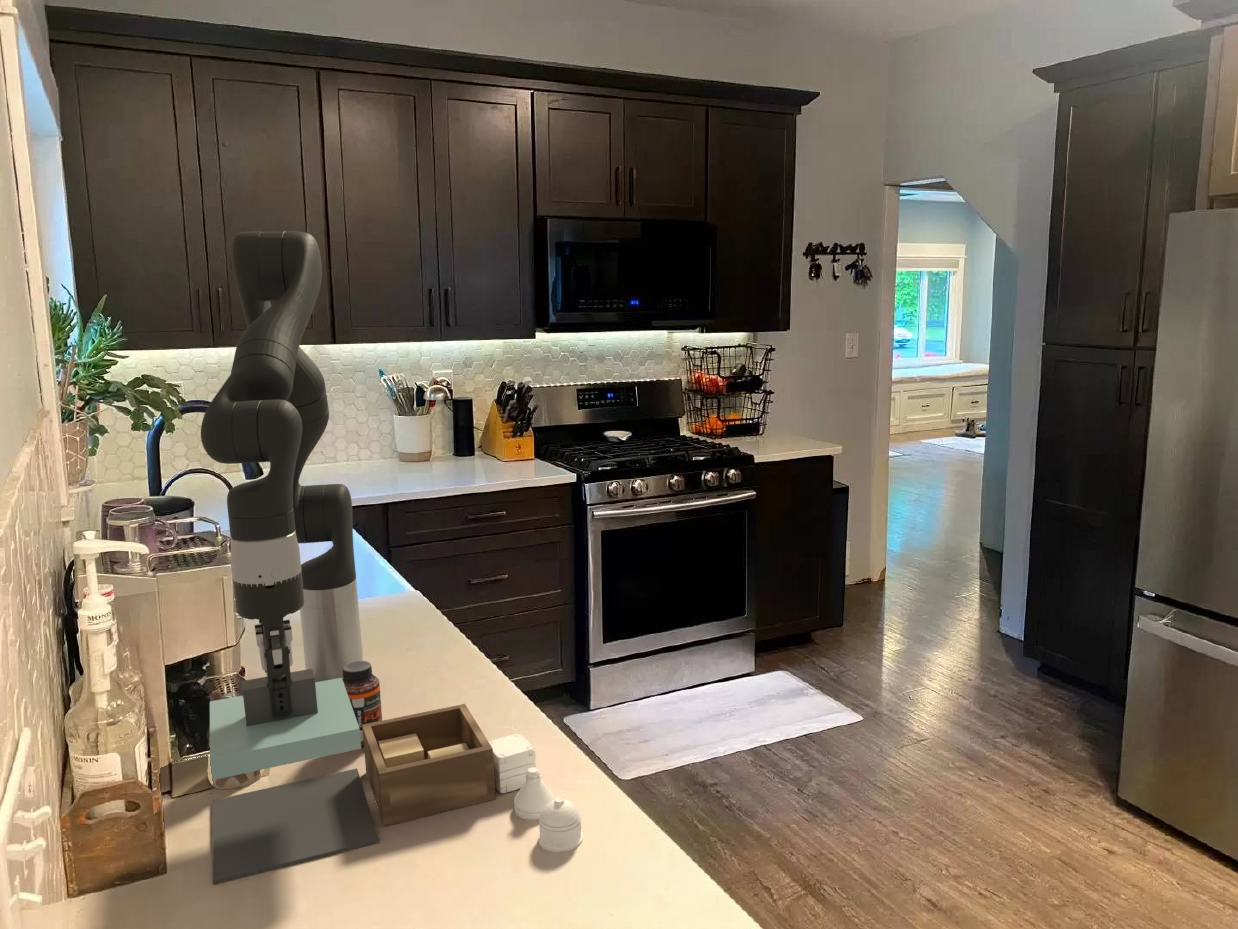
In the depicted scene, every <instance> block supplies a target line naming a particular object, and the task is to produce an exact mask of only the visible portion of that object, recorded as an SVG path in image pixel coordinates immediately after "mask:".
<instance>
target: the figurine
mask: <svg viewBox="0 0 1238 929" xmlns="http://www.w3.org/2000/svg"><path fill="white" fill-rule="evenodd" d="M238 696H243V694H242V695H241V694H240V693H238V692H236V691H230V692H227V693H225V694H224V695H222V693H221V691H220V690H219V689H216V690H213V691H212V693H211V697H212V701H216V700H221V699H227V698H232V697H238ZM208 745H209V747H210V737H209V738H208ZM261 778H262V776H261V773H260V770H258V771H253V772H248V773H244V774H239V775H234V776H229V777H225V778H220V779H215V780H212V781H213V786H214V787H215V788H214V787H213V788H214V789H216V788H217V789H216V790H222V791H223V790H231V789H237V788H244V787H248V786H250V785H252V784H253V783H255V782H256V783H257V781H260V779H261Z"/></svg>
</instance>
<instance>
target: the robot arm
mask: <svg viewBox="0 0 1238 929" xmlns="http://www.w3.org/2000/svg"><path fill="white" fill-rule="evenodd" d="M321 255H322V254H321V251H320V248H319V244H318V242H317V240H316V239H315V237H314V236H313V235H312V234H310V233H308V232H303V231H296V230H291V231H290V230H288V231H287V230H283V231H278V230H276V231H271V230H270V231H269V230H268V231H267V230H266V231H263V230H256V231H255V230H253V231H252V230H251V231H241V232H239V233H237V234H236V235H235V236H234V238H233V240H232V243H231V264H232V271H233V276H234V281H235V285H236V288H237V292H238V297H239V300H240V301H239V302H240V304H241V309H242V312H243V315H244V319H245V322H246V326H247V328H246V329H245V330H244V331H243V333H242V334H241V336H240V338H239V339H238V342H237V344H236V348H235V352H234V357H233V362H232V366H231V370H230V375H229V376H228V377H227V379H226V380H225V382H224V383H223V385H222V386H221V388H220V389H219V390H218V392H217V393H216V394H215V396H214V397H213V398H212V400H211V402H209V405H208V406H207V408H206V411H205V413H204V415H203V418H202V422H201V426H200V439H201V445H202V448H203V449H204V451H205V452H206V454H207V455H208V456H209V457H210V459H212V460H213V461H215V462H216V463H220V464H227V465H234V464H235V465H236V464H238V465H239V464H250V463H255V464H256V463H269V472H268V474H267V475H266V476H264V477H261V478H259V479H258V478H257V479H255V480H250V481H247V482H244V483H241V484H237V485H235V486H233V487H232V488H231V489H230V490H229V491H228V493H227V495H226V496H227V497H226V507H227V508H226V509H227V514H228V515H227V517H228V524H229V535H230V566H231V575H232V584H233V594H234V601H235V602H234V603H235V612H236V613H237V615H238V616H239V617H241V618H242V619H246V620H252V621H253V620H258V623H259V624H258V623H257V624H254V633H255V642H256V646H257V647H258V648H259V649H258V650H259V658H260V665H261V668H262V670H263V671H264V673H265V674H266V677H267V679H268V683H267V688H269V690H270V699H271V709H272V716H273V717H274V718H281V717H286V716H290V715H291V714H292V706H291V696H290V687H291V683H292V679H291V675H290V672H291V667H292V665H293V662H294V661H293V652H292V641H293V629H292V626H291V623H290V622H291V621H290V619H284V618H285V617H286V616H288V615H290V614H291V615H292V614H295V613H296V612H299V614H300V624H301V634H302V636H301V637H302V645H303V655H304V668H305V669H304V670H307V669H312V670H313V673H314V677H315V682H321V681H326V680H332V679H337V678H342V679H343V678H344V677H343V666H344V665H346V664H348V663H350V662H355V661H364V657H363V655H364V653H363V643H362V631H361V620H360V619H361V618H360V608H359V598H358V597H359V596H358V586H357V573H356V561H355V549H354V532H353V531H354V530H353V528H354V527H353V526H354V523H353V522H354V520H353V515H354V514H353V503H352V502H353V501H352V496H351V493H350V490H349V489H348V487H347V486H346V485H345V484H343V483H330V484H329V483H328V484H314V485H313V484H312V485H302V484H300V477H301V474H302V471H303V469H304V467H305V465H306V462H307V461H308V458H309V457H310V455H311V453H312V452H313V450H314V449H315V447H316V446H317V444H318V443H319V441H320V439H322V436H323V434H324V433H325V431H326V428H327V426H328V423H329V419H330V410H329V409H330V408H329V402H328V395H327V388H326V382H325V379H324V376H323V373H322V372H321V370H320V369H319V367H318V366H317V365H316V363H315V362H314V361H313V360H312V359H311V357H309V355H308V354H307V353H306V352H305V351H304V350H303V349H302V348H301V347H300V345H301V341H302V340H303V336H304V333H305V331H306V329H307V327H308V324H309V321H310V319H311V316H312V314H313V311H314V309H315V306H316V302H317V300H318V297H319V293H320V290H321V285H322V280H323V279H322V278H323V276H322V275H323V265H322V257H321ZM271 302H274V304H271ZM325 542H327V543H328V542H329V543H330V542H332V546H331V547H330V549H328V550H327V551H325V552H324V553H322V554H320V555H318V556H315V557H313V558H311V559H309V560H307V561H304V562H303V563H302V564H301V562H302V561H301V552H300V551H301V550H300V546H299V544H309V543H310V544H313V543H325ZM278 675H285V676H283V677H277V678H273V677H274V676H278Z"/></svg>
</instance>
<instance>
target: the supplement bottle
mask: <svg viewBox="0 0 1238 929" xmlns="http://www.w3.org/2000/svg"><path fill="white" fill-rule="evenodd" d="M372 667H373V666H372V663H371V662H370V661H366V660H363V661H355V662H350V663H348V664H346V665H344V666H343V677H344V678H343V679H342V680H343V682H344V685H345V688H346V691H347V694H348V697H349V700H350V703H351V705H352V708H353V711H354V714H355V717H356V720H357V723H358V726H359V728H360V740H361V748H364V743H363V731H362V725H363V724H368V723H373V722H378V721H383V713H382V712H383V711H382V699H381V684H380V680H379V678H378V677H377V676H376V675H374V674H373V669H372Z"/></svg>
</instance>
